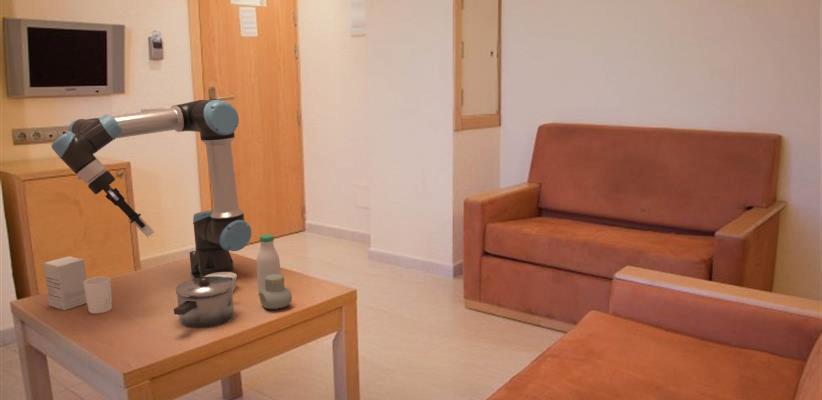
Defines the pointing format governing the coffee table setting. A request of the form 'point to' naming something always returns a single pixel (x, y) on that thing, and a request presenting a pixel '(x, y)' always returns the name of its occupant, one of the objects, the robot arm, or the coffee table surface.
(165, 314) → the coffee table surface
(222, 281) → the lid
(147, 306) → the coffee table surface
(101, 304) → the white cup
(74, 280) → the supplement box
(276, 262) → the milk bottle
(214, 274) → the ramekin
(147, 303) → the coffee table surface
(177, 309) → the pot
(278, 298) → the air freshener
